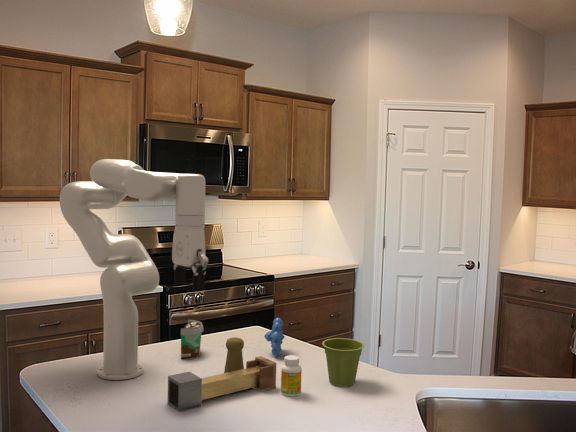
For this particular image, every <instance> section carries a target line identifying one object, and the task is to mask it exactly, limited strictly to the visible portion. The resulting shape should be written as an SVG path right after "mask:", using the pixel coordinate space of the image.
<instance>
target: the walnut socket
mask: <svg viewBox="0 0 576 432" xmlns="http://www.w3.org/2000/svg"><path fill="white" fill-rule="evenodd" d="M245 363H246V364H245V366H246V367H245V369H246V368H250V367H255V366H257V365H261V366H263V367H261V368H260V376H259V386H256V387H252V388H253V389H254V390H257V391H259V392H265V391H268V390H273V389H276V388H277V384H276V382H277V362H275V361H274V360H271V359H268V358H266V357H265V356H262V355H260V356H255V357H254V359H252V360H247V361H246V362H245Z"/></svg>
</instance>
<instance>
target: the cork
mask: <svg viewBox="0 0 576 432" xmlns="http://www.w3.org/2000/svg"><path fill="white" fill-rule="evenodd" d="M244 346H245V341H244V339H243V338H241V337H237V336H235V337H230V338H227V340H226V342H225V348H226V349H227V353H226V358H225V364H224V365H225V366H224V371H223V373H228V372H232V371H237V370H241V369H245V366H244V357H243V348H244Z"/></svg>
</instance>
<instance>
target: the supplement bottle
mask: <svg viewBox="0 0 576 432" xmlns="http://www.w3.org/2000/svg"><path fill="white" fill-rule="evenodd" d="M283 359H284V360H283V362H284V364H282V365H281V371H280V372H281V373H280V375H281V377H280V393H281V394H282V395H283V396H285V397H293V398H294V397H297V396H300V395H301V393H302V374H303V373H302V371H303V370H302V365H300V357H299V356H298V355H294V354H293V355H290V354H288V355H286V356H284V358H283Z"/></svg>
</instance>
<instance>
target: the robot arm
mask: <svg viewBox="0 0 576 432" xmlns="http://www.w3.org/2000/svg"><path fill="white" fill-rule="evenodd" d="M89 176H90V179H91V181H88V180H87V181H86V180H82V181H81V180H80V181H73V182H69V183H67V184H66V185H64V186H63V187H62V189H61V191H60V193H59V207H60V211H61V213H62V216H63V218H64V220H65V221H66V222H67V224H68V225H69V226H70V228H71V229H72V231H74V232H75V234H76V235H77V237H78V239H79V241H80V242H81V245H82V246H83V248H84V250H85V251H86V253H87V255H88V257H89V258H90V260H91V262H92V263H93V264H94V265H95V266H96V267H98V268H103V269H104V268H105V269H104V270H103V272H102V273H101V275H100V278H99V286H100V290H101V291H100V292H101V294H102V295H101V296H102V304H103V349H102V350H103V357H102V358H103V363H102V365H103V366H101V367H99V368H98V369H97V376H98V377H99V378H101V379H104V380H109V381H121V380H128V379H133V378H137V377H138V376H141V374H143V372H144V367H143V366H142V365H141V364H139V363H138V360H139V359H138V357H139V352H138V351H139V312H138V311H139V310H138V307H137V305H136V303H135V301H134V300H133V296H138V295H143V294H149V293H151V292H153V291H154V290H156V289H157V287H158V286H159V284H160V273H159V270H158V268H157V266H156V264H155V262H154V261H153V259H152V258H151V255H149V252H148V250H147V249H146V248H145V246H144V245H143V243H142V242H141V241H140V240H139V238H138V237H136V236H135V235H132V234H129V233H120V234H119V233H118V234H116V233H112V232H111V231H110V229H109V228H108V226H107V225H106V223H105V222H104V221H103V219H102V218H101V217H99V216H98V215H97V214H95V213H94V212H93V211H91V210H109V209H112V208H114V207H116V206H118V205H119V204H120V203H122V201H123V200H124V199H125V198H126V197H127V196H128V197H130V198H134V199H137V200H142V201H147V202H175V208H174V209H175V215H174V216H175V217H174V218H175V222H174V225H175V226H174V231H173V239H172V250H171V260H172V263H173V271H174V275H173V278H174V279H173V284H174V285H175V286H181V285H186V284H187V269H186V268H191V269H192V273H193V275H192V276H191V277H192V283H191V285H192V286H191V290H192V291H193V292H201V291H204V290H205V277H206V276H205V275H206V273H207V270H208V264H209V258H208V257H207V256H206V235H205V228H206V227H205V226H206V225H205V223H206V214H205V213H206V178H205V176H204V175H203V174H199V173H197V174H196V173H179V172H178V173H176V172H161V171H160V172H159V171H147V170H145V169H144V168H143V167H142V166H141V165H139V164H136V163H135V162H133V161H132V160H127V159H116V158H115V159H113V158H104V159H99V160H97V161H95V162H94V163H93V164H92V166H91V167H90V170H89Z"/></svg>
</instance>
